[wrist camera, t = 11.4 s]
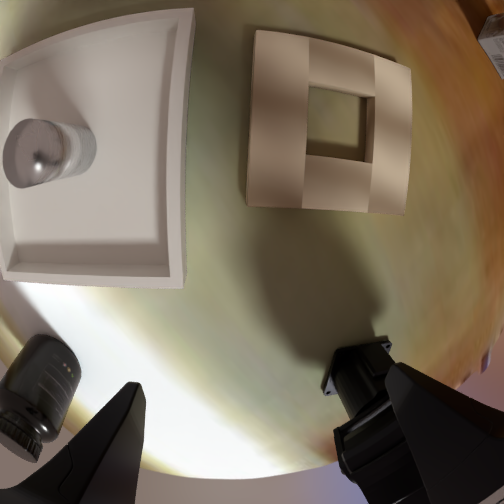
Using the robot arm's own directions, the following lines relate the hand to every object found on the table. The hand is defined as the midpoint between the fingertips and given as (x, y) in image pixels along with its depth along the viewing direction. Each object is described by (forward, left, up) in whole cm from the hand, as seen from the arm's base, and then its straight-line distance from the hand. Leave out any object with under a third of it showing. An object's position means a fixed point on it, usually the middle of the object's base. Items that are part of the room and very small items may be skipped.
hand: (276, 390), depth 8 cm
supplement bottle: (-11, +19, -12) cm, 25 cm away
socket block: (+10, -6, -12) cm, 17 cm away
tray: (+8, +12, -12) cm, 19 cm away
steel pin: (+8, +12, -12) cm, 18 cm away
